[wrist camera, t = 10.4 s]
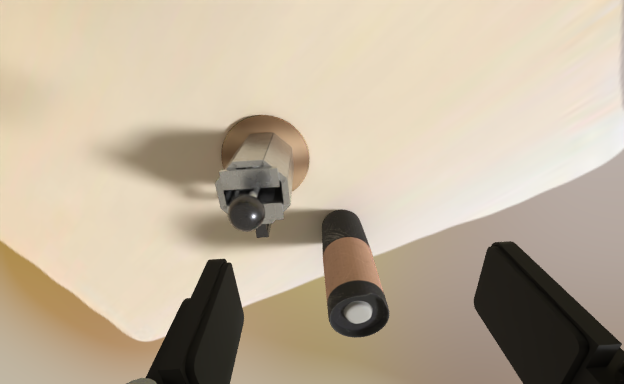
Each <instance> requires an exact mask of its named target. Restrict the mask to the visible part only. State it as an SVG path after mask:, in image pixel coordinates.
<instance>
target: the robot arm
mask: <svg viewBox="0 0 624 384" xmlns="http://www.w3.org/2000/svg"><path fill="white" fill-rule="evenodd" d="M474 306H475V309H476V311H477V312H478V314H479V316H480V317H481V319H482V320H483V322H484V323H485V325H486V326H487V328H488V329H489V331H490V333H491V334H492V336H493V337H494V339H495V340H496V342H497V343H498V345H499V347H500V348H501V350H502V351H503V353H504V354H505V356H506V357H507V359H508V360H509V362H510V364H511V365H512V367H513V368H514V370H515V371H516V373H517V374H518V376H519V378H520V379H521V381H522V382H523V384H624V351H623V350H622V349H621V348H620V346H621V345H622V344H621V343H620V342H619V341H618V340H617V339H616V338H615V337H614V336H613V335H612V334H611V333H610V332H609V331H608V330H607V329H605V328H604V327H603V326H602V325H601V324H600V323H599V322H598V321H597V320H596V319H595V318H594V317H593V316H592V315H591V314H590V313H588V312H587V311H586V310H585V309H584V308H583V307H582V306H581V305H580V304H579V303H578V302H577V301H576V300H575V299H574V298H573V297H571V296H570V295H569V294H568V293H567V292H566V291H565V290H564V289H563V288H562V287H561V286H560V285H559V284H558V283H557V282H556V281H555V280H553V279H552V278H551V277H550V276H549V275H548V274H547V273H546V272H545V271H544V270H543V269H542V268H541V267H540V266H539V265H537V264H536V263H535V262H534V261H533V260H532V259H531V258H530V257H529V256H528V255H527V254H526V253H525V252H524V251H523V250H522V249H521V248H519V247H518V246H517V245H516V244H515V243H514V242H495V243H493V244H492V246H491V247H489V248H488V249H487V252H486V256H485V260H484V263H483V267H482V271H481V275H480V278H479V282H478V286H477V290H476V294H475V297H474ZM243 322H244V314H243V309H242V305H241V301H240V297H239V293H238V288H237V284H236V280H235V276H234V272H233V268H232V264H231V263H227V261H226V260H225V259H213V260H208V262H207V264H206V266H205V268H204V270H203V272H202V275H201V277H200V279H199V281H198V283H197V285H196V288H195V290H194V292H193V294H192V296H191V298H187V299H185V300H184V301H183V302H182V304H181V306H180V308H179V310H178V312H177V314H176V316H175V318H174V320H173V322H172V324H171V327H170V329H169V331H168V333H167V335H166V337H165V339H164V341H163V343H162V345H161V347H160V349H159V351H158V353H157V355H156V358H155V360H154V362H153V364H152V366H151V368H150V370H149V372H148V374H147V376H146V378H140V379H137V380H133V381H131V382H129V383H127V384H230V380H231V375H232V372H233V367H234V362H235V358H236V354H237V349H238V345H239V341H240V336H241V332H242V327H243Z"/></svg>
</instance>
